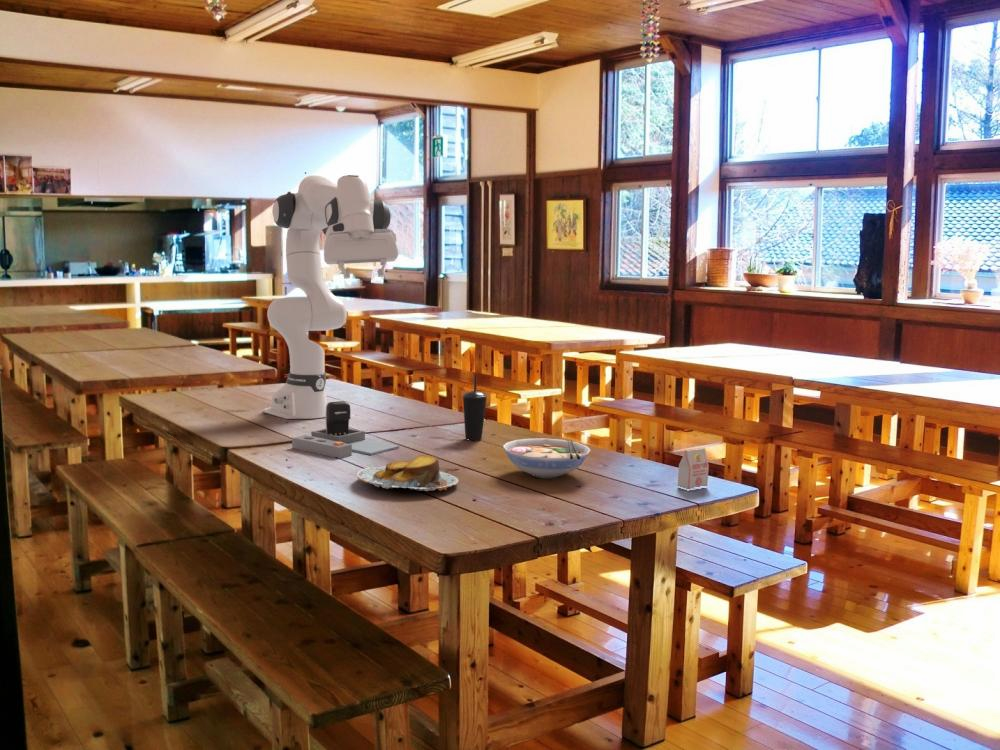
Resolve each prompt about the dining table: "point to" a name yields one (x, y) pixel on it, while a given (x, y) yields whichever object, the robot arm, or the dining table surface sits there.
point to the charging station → (328, 442)
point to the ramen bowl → (546, 456)
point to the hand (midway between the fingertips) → (364, 276)
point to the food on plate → (408, 475)
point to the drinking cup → (474, 412)
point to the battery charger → (337, 418)
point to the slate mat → (372, 447)
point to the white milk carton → (693, 469)
